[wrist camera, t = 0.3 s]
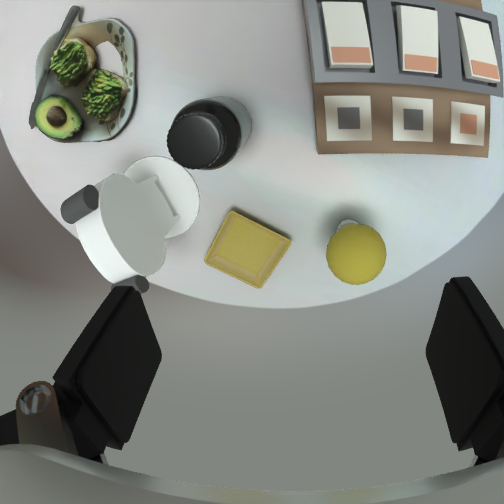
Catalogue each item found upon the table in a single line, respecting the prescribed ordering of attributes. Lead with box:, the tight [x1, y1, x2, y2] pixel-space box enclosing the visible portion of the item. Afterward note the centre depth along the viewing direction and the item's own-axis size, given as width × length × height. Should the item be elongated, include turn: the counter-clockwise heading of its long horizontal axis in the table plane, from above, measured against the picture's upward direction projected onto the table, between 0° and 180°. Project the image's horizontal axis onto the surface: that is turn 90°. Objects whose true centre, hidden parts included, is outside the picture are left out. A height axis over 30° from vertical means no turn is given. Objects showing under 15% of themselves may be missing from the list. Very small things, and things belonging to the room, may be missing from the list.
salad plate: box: [29, 6, 136, 143], centre depth 31 cm, size 19×18×5 cm
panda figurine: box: [61, 156, 200, 294], centre depth 34 cm, size 12×11×15 cm
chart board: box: [302, 0, 490, 158], centre depth 28 cm, size 22×22×2 cm
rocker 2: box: [396, 5, 438, 74], centre depth 23 cm, size 7×4×2 cm, turn 6°
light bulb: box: [326, 219, 386, 285], centre depth 36 cm, size 7×7×10 cm
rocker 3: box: [456, 16, 500, 83], centre depth 22 cm, size 7×4×2 cm, turn 6°
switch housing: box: [303, 0, 503, 97], centre depth 25 cm, size 10×22×3 cm, turn 96°
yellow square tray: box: [204, 211, 291, 288], centre depth 42 cm, size 9×9×2 cm
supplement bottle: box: [167, 97, 252, 170], centre depth 30 cm, size 7×7×12 cm
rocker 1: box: [321, 2, 373, 69], centre depth 25 cm, size 7×4×2 cm, turn 7°
